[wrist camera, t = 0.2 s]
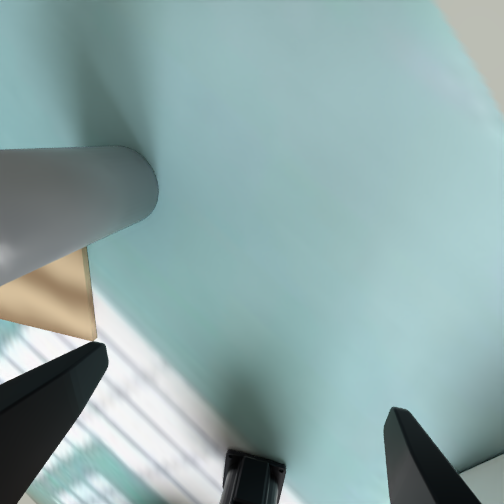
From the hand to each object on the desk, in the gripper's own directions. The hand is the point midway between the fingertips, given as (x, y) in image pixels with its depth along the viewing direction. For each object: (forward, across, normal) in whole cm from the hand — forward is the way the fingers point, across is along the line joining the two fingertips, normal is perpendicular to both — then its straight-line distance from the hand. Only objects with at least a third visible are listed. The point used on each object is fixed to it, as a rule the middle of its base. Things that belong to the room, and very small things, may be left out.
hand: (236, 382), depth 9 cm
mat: (+14, +23, +8) cm, 28 cm away
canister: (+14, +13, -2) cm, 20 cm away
